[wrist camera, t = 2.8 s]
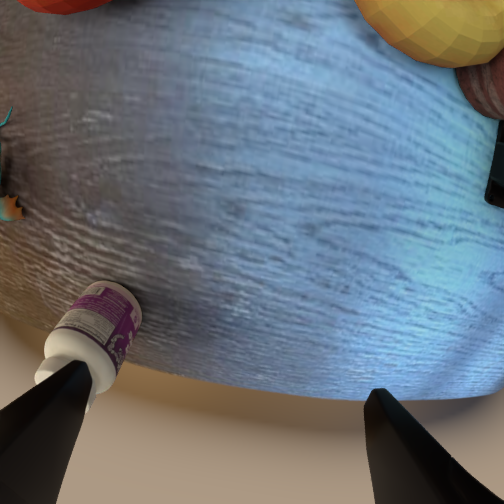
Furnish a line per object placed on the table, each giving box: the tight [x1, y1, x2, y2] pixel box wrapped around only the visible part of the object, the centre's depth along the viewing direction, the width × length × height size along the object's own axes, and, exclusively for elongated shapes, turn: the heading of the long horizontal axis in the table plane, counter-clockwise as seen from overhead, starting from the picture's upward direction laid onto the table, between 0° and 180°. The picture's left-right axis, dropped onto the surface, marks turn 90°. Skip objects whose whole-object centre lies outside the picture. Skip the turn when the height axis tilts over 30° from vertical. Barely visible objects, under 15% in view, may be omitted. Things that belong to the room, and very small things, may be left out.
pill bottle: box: [35, 280, 142, 413], centre depth 19 cm, size 5×5×10 cm
